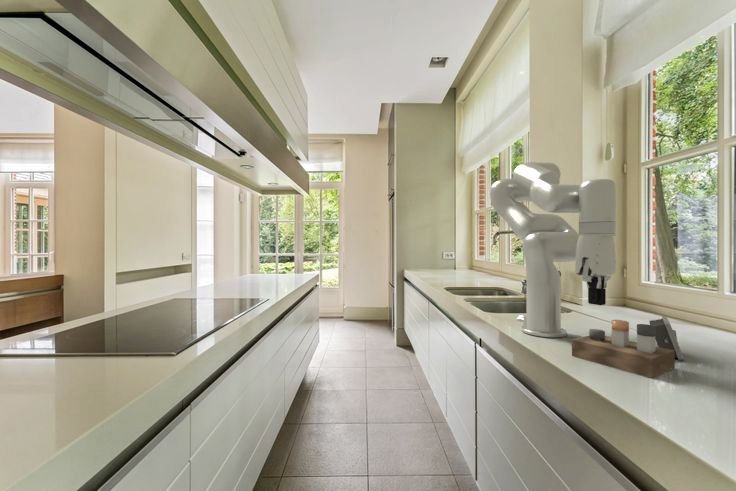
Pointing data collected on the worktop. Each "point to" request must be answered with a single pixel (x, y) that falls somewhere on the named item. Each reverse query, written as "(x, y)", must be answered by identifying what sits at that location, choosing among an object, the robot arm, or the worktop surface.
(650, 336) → the plug right
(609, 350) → the wooden socket board
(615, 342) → the plug middle
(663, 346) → the electrical switch
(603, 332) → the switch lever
